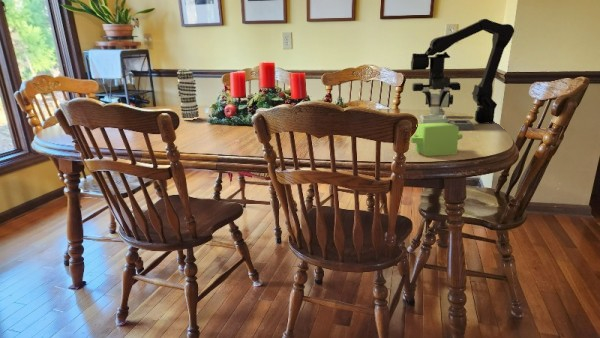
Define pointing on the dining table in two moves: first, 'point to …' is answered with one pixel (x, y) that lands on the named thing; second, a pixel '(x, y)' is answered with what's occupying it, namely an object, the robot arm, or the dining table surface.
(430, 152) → the gearbox
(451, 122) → the grey square frame
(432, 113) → the white light bulb
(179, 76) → the decorative candle
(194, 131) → the dining table surface
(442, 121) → the parts tray
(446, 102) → the pneumatic valve
